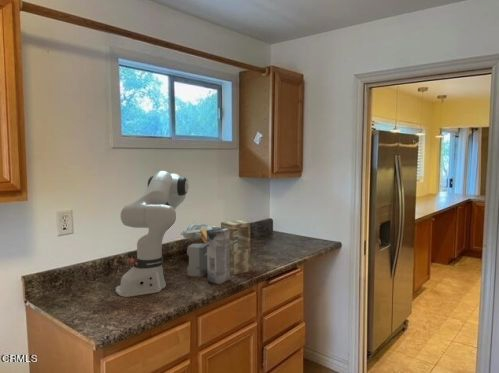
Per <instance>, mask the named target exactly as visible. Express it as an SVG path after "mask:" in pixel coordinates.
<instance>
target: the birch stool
mask: <svg viewBox="0 0 499 373" xmlns="http://www.w3.org/2000/svg"><path fill="white" fill-rule="evenodd" d="M220 228H227V229H230V233H229V247H230V276H234V275H238V274H243V273H247V272H251V270H252V269H251V262H252V261H251V259H252V258H251V222H250V221H245V220H241V219H238V220H237V219H236V220H228V221H221V222H220ZM234 228H237V231H238V250H237V251H234Z"/></svg>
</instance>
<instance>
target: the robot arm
mask: <svg viewBox="0 0 499 373" xmlns="http://www.w3.org/2000/svg"><path fill="white" fill-rule="evenodd" d="M189 188H190V185H189V181H188V179H187V178H186V177H185V176H180V175H179V174H178V173H170V172H168V171H166V170H160V171H158V172H156V173H155V174H154V175H151V176H150V177H149V178H148V180H147V188H146V190H145V192H144V193H143V194H142V196H140V197H139V198H138V199H136V200H135V201H134V202H131V203H130V204H128V205H125V206H123V208H122V210H121V212H120V221H121V223H122V224H123V225H124V226H126V227H130V228H133V229H134V228H135V229H141V228H142V229H145V228H146V229H148V233H146V234H145V235H143V236H141V237H140V238H138V240H137V243H136V252H137V253H136V256H137V257H136V258H135V259H134V258H133V257H132V258H130V259H129V263H130V264H133V266H132V267H131V268H130V269H128V270H127V272H125V273H124V274H123V275H122V276H121V279H120V285H117V286H116V287H115V293H116V294H117V295H119V296H120V297H124V298H129V297H136V296H142V295H143V296H144V295H150V294H155V293H159V292H161V291H162V290H163V289H164V288H165V287H166V286H167V283H166V281H165V276H164V270H163V269H164V258H163V257H164V256H163V255H162V254H163V252H162V249H163V248H162V247H163V238H164V235H165V234H166V233H167V232H166V231H167V230H168V229H169V228H170V227H171V226H172V225H173V224H174V223H175V221H176V213H177V211H176V209H177V208H178V207H179V205H181V204H182V203H183V202H184V200H185V199H186V194H187V193H188V192H189ZM202 229H207V230H211V229H212V226H209V225H208V224H198V223H195V222H194V223H192V224H190V225H189V226H188V228H187V230H186V231H183V232H182V233H181V232H180V235H181V236H183V238H184V239H188V240H189V239H194V240H197V239H199V238H201V237H203V234H200V230H202Z"/></svg>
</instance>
